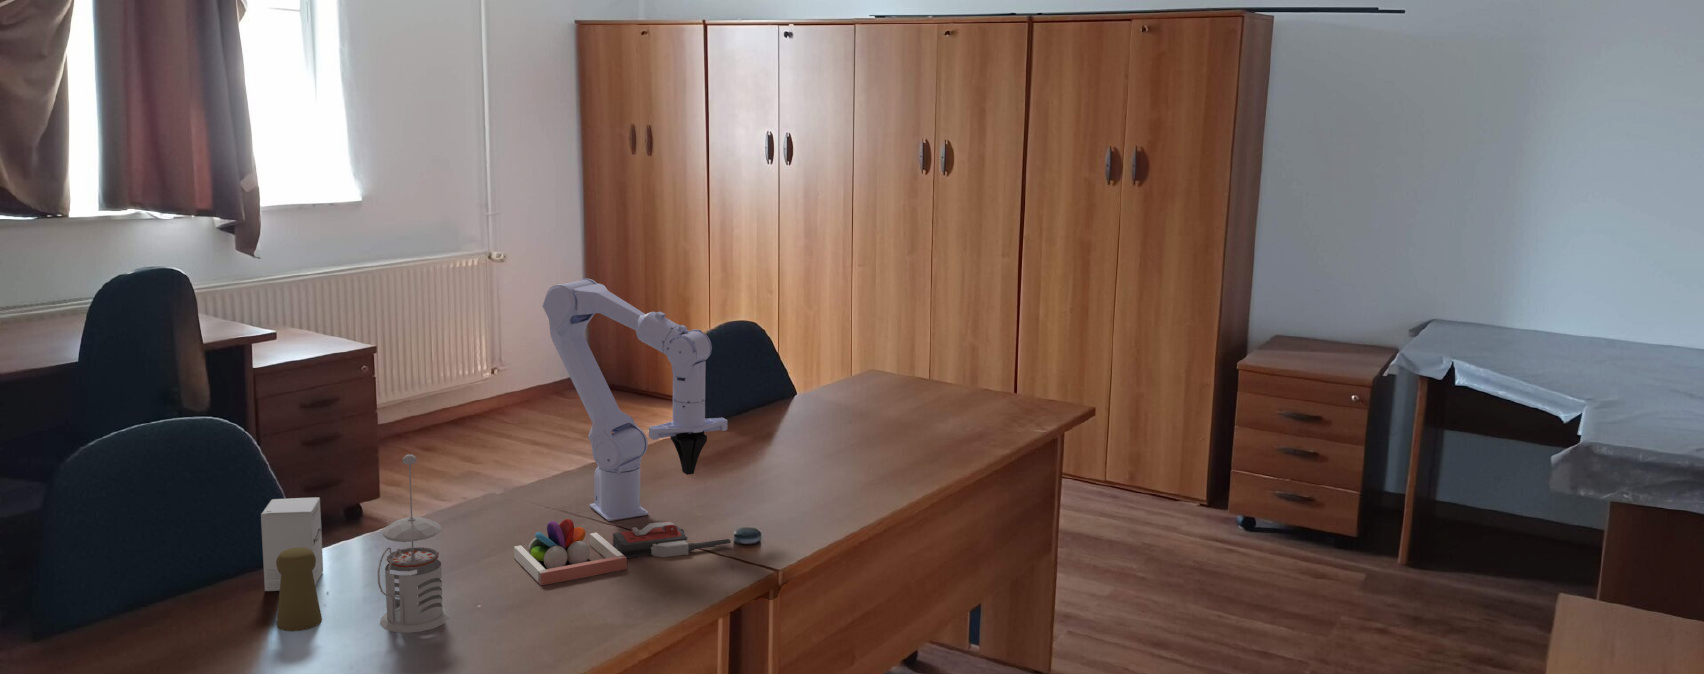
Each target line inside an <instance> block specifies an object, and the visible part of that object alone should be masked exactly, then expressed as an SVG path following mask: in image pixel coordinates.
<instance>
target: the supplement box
mask: <svg viewBox="0 0 1704 674" xmlns="http://www.w3.org/2000/svg"><path fill="white" fill-rule="evenodd" d="M321 516H322V515H321V498H320V497H295V498H293V497H291V498H274V499H273V498H272V499H270V501H269V502H268V503H267V505H266V507H265V508H264V510H263V511H262V512H261V513H260V526H261V541H262V543H261V544H262V545H261V546H262V559H263V560H262V562H263V581H264V591H265V592H275V591H276V592H278V591H279V592H280V581H281V574H280V573H279V572H278V569H277V566H276V560H277V557H278V556H279V554H280V553H281V552H283V551H284V550H287V549H290V548H296V547H304V548H308V549H310V550H312V551H313V553H314V554H315V557H316V564H315V567H314V569H313V570H312V572H313V577H314V582H315V587H316V586H317V583H318V581H319V579H320V578H321V576H322V574H323V573H324V563H323V561H324V560H323V559H324V558H323V557H324V556H323V537H322V535H323V534H322V533H323V531H322V519H321V518H322V517H321Z"/></svg>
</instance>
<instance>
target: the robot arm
mask: <svg viewBox="0 0 1704 674" xmlns="http://www.w3.org/2000/svg"><path fill="white" fill-rule="evenodd" d="M542 309H544V313H545V314H546V316H547V318H548V323H549V332H550V338H551V340H552V342H553V344H554V346H555V349H556V351H557V353H558V355H559V357H560V359H561V362H562V363H563V365H564V367H565V370H566V371H567V373H568V377H569V378H570V380H571V382H572V384H573V386H574V388H575V390H576V392H577V395H578V396H579V399H580V401H581V402H582V404H583V406H584V407H583V408H584V409H585V411H586V413H587V415H588V417H589V419H590V421H591V424H592V425H591V428H590V430H589V433H588V441H589V442H590V444H591V450H592V457H593V461H594V462H595V464H596V465H597V467H596V469H595V471H594V477H593V479H594V483H593V484H594V485H593V486H594V487H593V490H594V495H593V496H594V501H593V503H589V507H590V508H591V509H592V510H594V511H595V512H596V513H598V514H599V515H600V516H601V517H602V518H604V519H605V520H606V521H609V522H612V521H618V520H623V519H630V518H636V517H642V516H647V515H649V512H648V510H646V509H645V508H643V507H642V506H641V464H642V457H643V456H644V455H645V454H646V452H647V450H648V447H649V444H648V438H650V439H651V440H653V441H655V440H656V441H657V440H659V439H661V438H670V440H671V441H672V444H673V445H674V448H675V449H676V452H677V455H678V458H679V461H680V465H681V471H682V473H683V474H685V475H687V476H688V475H689V476H690V475H693V474H695V471H696V466H697V464H698V460H699V457H700V454H701V452H702V450H703V449H704V447H705V445H706V444H707V442H708V436H707V435H706V434H705V433H707V432H715V431H716V432H717V431H723V432H724V431H727V430H728V419H726V418H724V417H714V418H713V417H711V418H709V417H708V418H706V371H707V370H706V367H707V366H706V363H707V362H706V360H708V358H709V357H710V356H711V354H712V350H713V349H712V347H713V345H712V342H711V340H710V337H709V336H708V335H707V334H706V333H704V332H703V330H701V329H696V328H695V329H692V330H688V327H687V326H685V325H684V324H681V325H680V324H678V323H676V322H674V321H672V320H671V319H669V318H668V317H666V313H664V312H662V311H658V312H656V311H651V312H648V313H645V312H642V311H641V310H639V309H638V308H637V307H635V306H633V305H632V304H630V303H629V302H627V301H626V300H624V299H622V298H621V297H619V296H618V295H616V294H614V293H612V292H611V291H609V290H608V289H607V287H606V286H605V285H604V284H602V283H598V282H596V280H594V279H591V278H582V279H579V280H577V281H572V282H566V283H558V284H555V285H552V286H551V287H549V288H548V290H547V291H546V295H545V297H544V301H543V303H542ZM595 314H600V315H602V316H605V317H607V318H609V319H611V320H612V321H616V322H617V323H619V324H621V325H623V326H624V327H628V328H630V329H631V330H634V331H635V334H636V336H637V339H638V340H639V341H641V343H644V344H646V345H647V346H649V347H651V348H653V349H655V350H657V351H659V353H662V354H663V355H665V356H666V357H667V360H668V362H669V363H670V365H671V373H672V421H668V422H665V423H662V424H658V425H657V424H656V425H652V426H649V427H648V436H647V435H646V433H645V432H644V431H643V429H641V428H640V427H639V426H638V425H637V424H636V422H635V419H634V418H633V417H632V416H630V415H629V414H627V413H625V412H624V411H622V410H621V409H620V407H619V405H618V403H617V401H616V399H615V397H614V395H613V392H612V391H611V389H610V387H609V384H608V383H607V381H606V378H605V376H604V375H603V372H602V371H601V368H600V366H599V364H598V362H597V360H596V358H595V356H594V354H593V351H592V350H591V348H590V346H589V344H588V342H587V339H586V337H585V331H586V328H587V327H588V324H589V323H590V321H591V320H592V318H593V317H594V316H595ZM647 437H648V438H647Z"/></svg>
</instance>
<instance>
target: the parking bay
mask: <svg viewBox="0 0 1704 674" xmlns="http://www.w3.org/2000/svg"><path fill="white" fill-rule="evenodd" d="M589 545H590V546H591V547H592V548H593V549H594V550H595V551H596V552H597V553H598V554H600V555H602V557H603V558H601V559H597V560H596V559H595V560H591V561H585V562H584V563H578V564H567V565H564V566H562V567H556V568H551V569H548V568H545V566H543V565H542V564H541V563H540V562H539V560H538V561H537V560H536V559H535V558H534V557H533V556H531V555H530V554H529V552H528V551H527V550H526V548H524V547H523V546H522V545H515V546H513V557H514V559H515V560H516V561H517V563H519V564H520V565H521V566H522V567H523V569H524V570H525V571H526V572H528V573H529V574H530V576H531V577H532V578H533V579H534V580H535V581H536V582H537V583H538V584H539V585H540V586H544V585H545V586H546V585H549V584H555V583H560V582H561V583H562V582H565V581H571V580H576V579H581V578H586V577H593V576H598V575H603V574H608V573H613V572H618V571H624V570H627V564H628V563H627V557H625V556H624V555H623V554H622V553H621V552H619V551H618V550H617V549H616V548H614V547H613V544H611V543H610V542H609V541H608V540H606V539H605V538H604V537H603V536H602V535H600V534H599V533H598V532H592V533H589Z"/></svg>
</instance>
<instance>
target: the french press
mask: <svg viewBox="0 0 1704 674" xmlns="http://www.w3.org/2000/svg"><path fill="white" fill-rule="evenodd" d="M416 463H417V457H416V455H414V454H406V455H405V456H404V457H402V464H403V465H408V469H409V470H408V472H409V473H408V474H409V475H408V476H409V477H408V478H409V502H410V503H409V506H410V517H404V518H402V519H397V520H395V521H394V522H391V523H390V524H388V526H385V527H384V528H383V529H382V532H381V534H382V536H383V537H384V538H385V539H386V540H388V541H393V542H397V543H407V542H410V543H411V547H407V548H398V549H397V550H395V551H392V548H391V547H387V548H386V549H385V551H383V553H382V555H381V558H380V559H379V564H378V568H377V584H378V588H379V589H380V592H381V594H383V595H384V596H385V598H386V599H385V600H386V613H385V614H383V616H382V617H381V618H380V620H379V625H380V626H381V627H382V628H383V629H384V630H387V631H390V632H394V633H404V634H405V633H406V634H408V633H409V634H410V633H419V632H424V631H425V632H426V631H428V630H433V629H436V628H437V627H440V626H442V625H444V624H445V623H446V622H447V621H448V620H450V617H451V615H450V614H451V613H450V612H449V610H447V609H446V608H445V607H444V605H443V596H442V595H443V588H442V587H443V581H442V580H441V579H442V578H443V577H442V576H443V575H442V574H443V573H442V562H441V560H439V559H438V558H439V556H440V555H439V554H440V553H439V552H438V551H436V549H434V548H430V547H422V546H419V547H414V542H417V541H423V540H427V539H430V538H432V537H435V536H436V535H438V534H439V533H440V532H441V531H442V525H440V524H439V523H438V522H437V521H434V520H433V519H428V518H425V517H421V516H417V517H416V516H413V494H412V470H411V465H413V464H416ZM388 551H389V555H387V556H386V561H387V562H388V563H387V564H386V566H385V568H384V572H385V575H384V576H385V577H384V579H385V592H384V590H383V588H382V585H381V578H380V570H381V567H382V562H383V560H384V557H385V555H386V553H387V552H388ZM391 571H396V572H412V571H416V573H414V574H411V575H409V574H405V575H403V574H402V575H400V574H393V573H391ZM395 580H398V582H395ZM396 588H398V589H399V590H396Z"/></svg>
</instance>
